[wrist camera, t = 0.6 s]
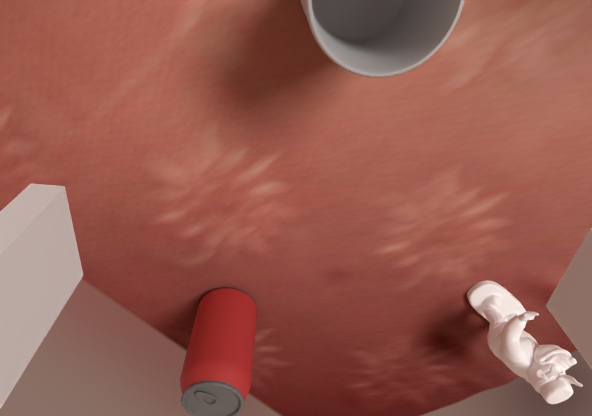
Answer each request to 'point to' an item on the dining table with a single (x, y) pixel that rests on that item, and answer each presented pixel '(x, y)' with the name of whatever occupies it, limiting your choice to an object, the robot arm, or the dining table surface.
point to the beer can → (219, 354)
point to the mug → (381, 32)
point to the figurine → (522, 342)
